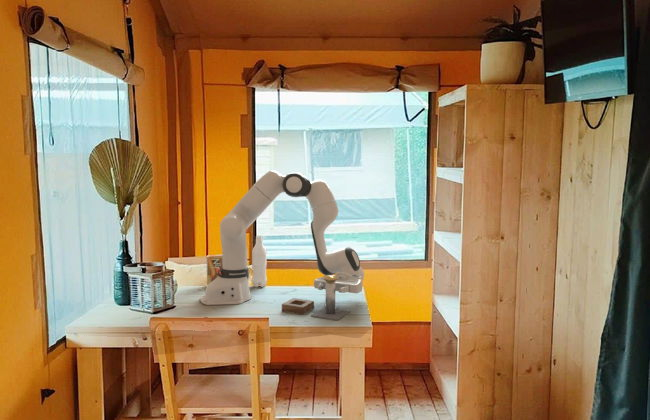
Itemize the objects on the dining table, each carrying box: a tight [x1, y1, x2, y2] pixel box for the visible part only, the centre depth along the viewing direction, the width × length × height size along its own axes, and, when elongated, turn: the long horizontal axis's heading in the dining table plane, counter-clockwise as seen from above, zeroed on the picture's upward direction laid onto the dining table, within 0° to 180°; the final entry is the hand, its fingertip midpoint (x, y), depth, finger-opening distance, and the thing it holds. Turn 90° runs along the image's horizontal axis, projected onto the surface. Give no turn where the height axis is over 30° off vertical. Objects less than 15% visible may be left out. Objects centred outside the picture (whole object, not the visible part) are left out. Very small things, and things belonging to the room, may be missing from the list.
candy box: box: [206, 254, 223, 286], centre depth 257 cm, size 9×4×15 cm, turn 111°
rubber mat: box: [310, 306, 351, 322], centre depth 213 cm, size 12×12×1 cm
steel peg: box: [323, 274, 337, 314], centre depth 213 cm, size 6×6×15 cm
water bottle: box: [251, 235, 268, 288], centre depth 256 cm, size 7×7×25 cm
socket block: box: [281, 297, 315, 315], centre depth 220 cm, size 10×10×3 cm
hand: (329, 289), depth 212 cm, fingers open, 8 cm apart
